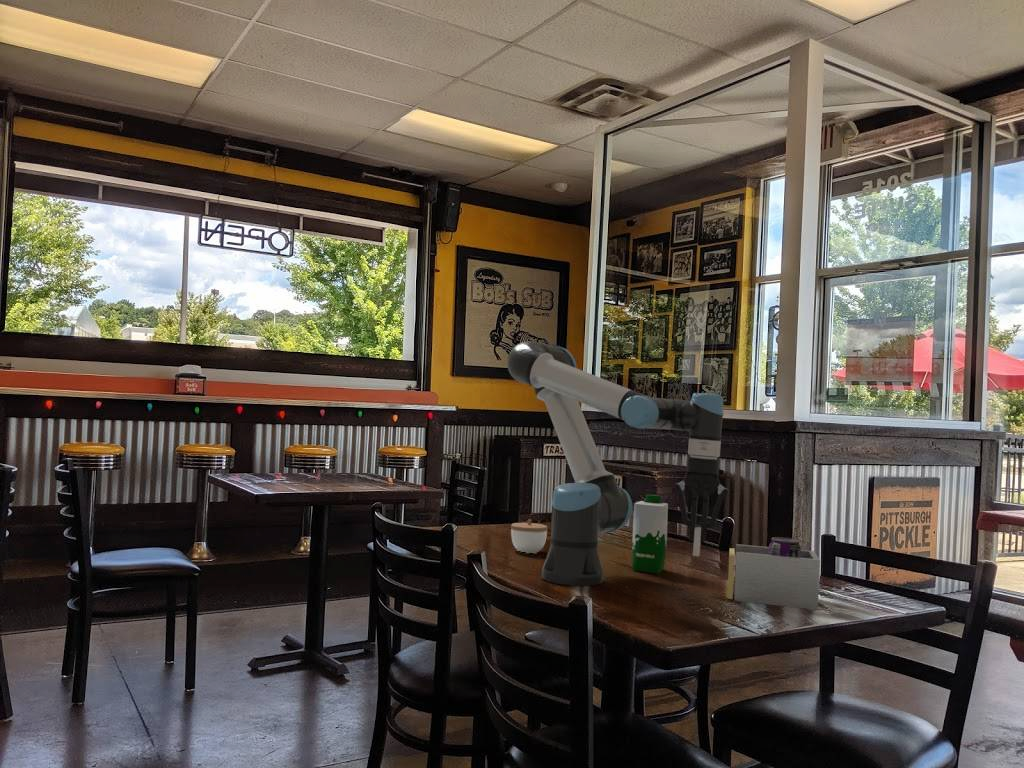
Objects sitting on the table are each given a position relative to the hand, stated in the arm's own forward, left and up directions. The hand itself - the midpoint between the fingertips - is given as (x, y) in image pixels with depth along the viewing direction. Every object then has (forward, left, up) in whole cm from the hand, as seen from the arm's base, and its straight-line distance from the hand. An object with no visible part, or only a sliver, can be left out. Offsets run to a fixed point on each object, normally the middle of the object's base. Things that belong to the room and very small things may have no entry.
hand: (696, 555), depth 195 cm
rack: (+17, 0, -8) cm, 19 cm away
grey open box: (+18, 0, -8) cm, 20 cm away
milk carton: (-13, +21, -9) cm, 26 cm away
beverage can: (+20, 0, -7) cm, 21 cm away
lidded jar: (-49, +31, -9) cm, 59 cm away
